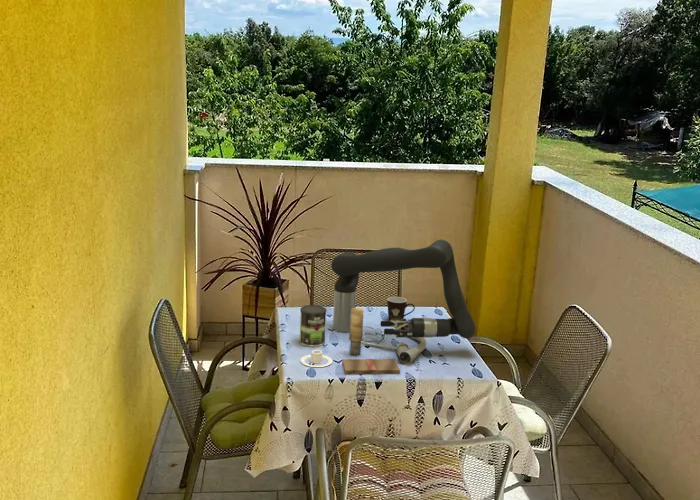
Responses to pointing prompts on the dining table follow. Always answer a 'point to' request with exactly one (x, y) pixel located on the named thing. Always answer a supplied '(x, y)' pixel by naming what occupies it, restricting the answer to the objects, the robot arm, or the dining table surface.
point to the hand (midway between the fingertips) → (382, 327)
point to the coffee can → (312, 325)
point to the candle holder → (316, 358)
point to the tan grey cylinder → (356, 330)
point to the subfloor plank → (370, 366)
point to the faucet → (405, 349)
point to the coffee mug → (397, 307)
